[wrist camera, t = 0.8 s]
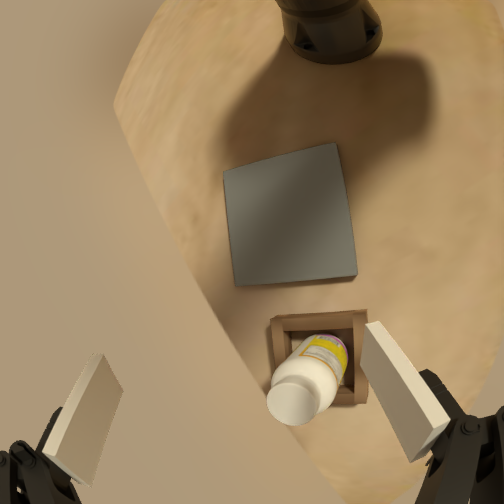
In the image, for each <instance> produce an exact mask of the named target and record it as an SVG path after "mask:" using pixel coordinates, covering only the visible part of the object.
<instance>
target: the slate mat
mask: <svg viewBox="0 0 504 504" xmlns="http://www.w3.org/2000/svg"><path fill="white" fill-rule="evenodd" d="M223 177H224V187H225V197H226V207H227V217H228V226H229V235H230V245H231V254H232V262H233V271H234V280H235V286H247V285H260V284H272V283H283V282H294V281H305V280H315V279H325V278H334V277H344V276H353V275H358V270H357V260H356V252H355V244H354V236H353V229H352V223H351V216H350V210H349V204H348V198H347V193H346V187H345V182H344V177H343V172H342V167H341V162H340V158H339V153H338V149H337V145H336V143H335V142H334V143H329V144H324V145H320V146H315V147H311V148H307V149H303V150H299V151H295V152H291V153H287V154H283V155H279V156H275V157H272V158H268V159H264V160H261V161H257V162H254V163H250V164H247V165H243V166H240V167H237V168H233V169H230V170H227V171H224V172H223Z"/></svg>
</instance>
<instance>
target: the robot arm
mask: <svg viewBox="0 0 504 504" xmlns="http://www.w3.org/2000/svg"><path fill="white" fill-rule="evenodd" d="M275 1H276V2H277V4H278V5H279V7H280V8H281V12H282V19H283V27H284V33H285V36H286V39H287V40H288V42H289V44H290V45H291V47H292V48H293V49H294V51H295V52H296V53H298V54H299V55H300V56H302V57H304V58H306V59H308V60H311V61H314V62H318V63H324V64H342V63H348V62H353V61H356V60H359V59H361V58H364V57H366V56H367V55H369V54H371V53H372V52H373V51H374V50H375V49H376V48H377V47H378V46H379V44H380V42H381V40H382V34H383V33H382V26H381V21H380V18H379V16H378V14H377V13H376V11H375V10H374V9H373V7H372V6H371V4H370V3H369V2H368V0H275ZM360 366H361V368H362V370H363V372H364V373H365V375H366V377H367V379H368V381H369V383H370V385H371V387H372V388H373V390H374V392H375V394H376V396H377V398H378V400H379V402H380V404H381V406H382V408H383V409H384V411H385V413H386V415H387V417H388V419H389V421H390V423H391V425H392V427H393V429H394V431H395V433H396V435H397V437H398V439H399V441H400V443H401V445H402V447H403V450H404V452H405V454H406V456H407V458H408V460H409V462H410V463H411V462H413V461H416V460H418V459H420V458H422V457H424V456H426V454H427V453H428V452H429V451H430V449H431V451H432V453H433V455H432V456H431V458H430V459H429V460H428V461H427V463H426V465H425V466H428V464H429V463H430V464H429V467H428V470H427V473H426V476H425V479H424V482H423V484H422V487H421V489H420V492H419V495H418V497H417V500H416V502H415V504H468V501H469V498H470V504H504V406H502V407H501V408H500V409H499V410H498V411H497V413H496V414H495V415H491V416H488V417H484V418H479V419H478V418H477V417H476V416H472V415H466V414H465V413H464V411H463V410H462V409H461V407H460V406H459V405H458V403H457V402H456V400H455V399H454V398H453V396H452V395H451V394H450V392H449V391H447V388H446V387H445V385H444V384H442V381H441V380H440V379H439V378H438V376H437V375H436V374H435V373H433V372H431V371H430V370H428V369H425V370H423V371H420V372H417V370H416V369H415V368H414V366H413V365H412V363H411V362H410V361H409V359H408V358H407V357H406V355H405V354H404V353H403V351H402V350H401V349H400V347H399V346H398V345H397V343H396V342H395V341H394V339H393V338H392V337H391V336H390V334H389V333H388V332H387V330H386V329H385V328H384V327H383V325H382V324H381V323H380V321H376V322H372V323H368V324H365V331H364V339H363V347H362V354H361V361H360ZM122 393H123V389H122V387H121V386H120V384H119V382H118V380H117V379H116V377H115V375H114V373H113V371H112V370H111V368H110V366H109V364H108V362H107V360H106V358H105V356H104V354H92V356H91V358H90V359H89V361H88V363H87V364H86V366H85V368H84V370H83V371H82V373H81V375H80V377H79V379H78V380H77V382H76V384H75V386H74V388H73V389H72V392H71V393H70V396H69V397H68V399H67V401H66V403H65V405H64V407H59V408H58V409H57V410H56V411H55V412H54V413H53V415H52V417H51V419H50V423H48V425H47V427H46V428H47V429H45V431H44V433H43V435H42V438H41V440H40V442H39V444H38V446H37V448H36V450H35V451H34V450H33V449H32V448H31V447H30V446H29V445H28V444H27V443H26V442H25V441H22V440H19V441H16V442H14V443H13V444H12V445H11V447H10V449H9V454H8V453H7V452H6V451H0V504H82V503H81V501H80V499H79V497H78V495H77V493H76V490H75V488H74V486H73V484H72V483H71V482H70V480H71V478H72V479H74V480H75V481H76V482H78V483H79V484H83V485H86V486H89V487H92V484H93V480H94V477H95V473H96V470H97V466H98V463H99V460H100V457H101V453H102V450H103V447H104V444H105V441H106V438H107V435H108V432H109V429H110V426H111V423H112V420H113V418H114V415H115V412H116V409H117V407H118V404H119V401H120V398H121V396H122ZM17 487H19V488H20V489H21V493H19V492H18V491H17Z"/></svg>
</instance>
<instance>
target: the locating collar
mask: <svg viewBox="0 0 504 504" xmlns="http://www.w3.org/2000/svg"><path fill="white" fill-rule="evenodd" d="M270 322H271V331H272V340H273V350H274V359H275V369H277V368H278V367H279V366H280V364H282V363H283V362H284V361H285V360H286V359H287V358H288V357H289V356H290V355H291V354H292V344H291V333H290V331H301V330H327V329H345V328H353V334H354V367H355V385H339V388H338V390H337V393H336V395H335V398H334V400H333V402H332V403H331V404H366V402H367V397H368V382H369V381H368V379H367V377H366V375H365V373H364V372H363V370H362V368H361V366H360V361H361V354H362V347H363V339H364V331H365V324H368V319H367V309H364V310H352V311H340V312H326V313H309V314H289V315H277V316H275V317H273V318H272V319H270Z"/></svg>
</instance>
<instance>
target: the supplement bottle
mask: <svg viewBox="0 0 504 504" xmlns="http://www.w3.org/2000/svg"><path fill="white" fill-rule="evenodd" d="M347 364H348V352H347V349H346V347H345V345H344V344H343V342H342V341H341V340H340V339H338V338H337V337H335V336H333V335H331V334H326V333H318V334H314V335H311V336H309V337H308V338H306V339H305V340H304V341H303V342H302V343H301V344H300V345H299V346H298V347H297V348H296V349H295V350H294V351H293V353H292V354H291V355H290V356H289V357H288V358H287V359H286V360H285V361H284V362H283V363H282V364H280V366H279V367H278V368H277V369H276V370H275V372H274V374H273V376H272V380H271V390H270V391H269V393H268V395H267V399H266V401H267V407H268V410H269V412H270V413H271V415H272V416H273V417H274V418H275V419H277V420H278V421H280V422H281V423H283V424H286V425H291V426H300V425H304V424H306V423H308V422H309V421H311V420H312V419H313V417H314V416H315V415H316V414H319V413H321V412H323V411H324V410H326V409H327V408H328V407H329V406H330V405H331V403H332V402H333V400H334V398H335V395H336V393H337V390H338V388H339V385H340V383H341V380H342V378H343V375H344V372H345V370H346V367H347Z"/></svg>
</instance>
